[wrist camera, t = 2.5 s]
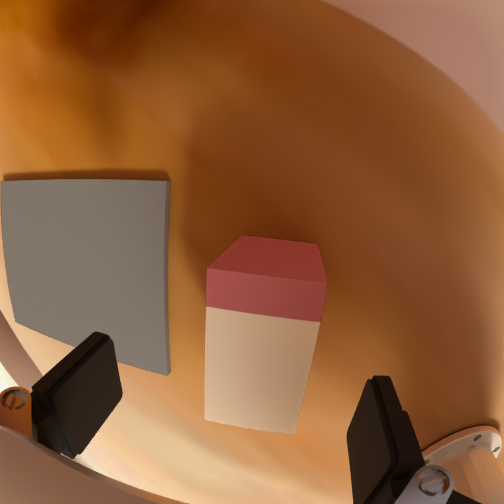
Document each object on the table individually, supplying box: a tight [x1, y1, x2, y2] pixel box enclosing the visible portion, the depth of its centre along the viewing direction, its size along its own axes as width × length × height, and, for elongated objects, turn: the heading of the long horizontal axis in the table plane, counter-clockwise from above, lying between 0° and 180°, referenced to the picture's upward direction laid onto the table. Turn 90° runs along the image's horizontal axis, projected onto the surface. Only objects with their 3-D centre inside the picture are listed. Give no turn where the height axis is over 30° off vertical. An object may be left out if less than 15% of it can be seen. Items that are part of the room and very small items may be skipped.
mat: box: [0, 179, 171, 376], centre depth 21 cm, size 14×18×1 cm
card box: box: [205, 235, 328, 434], centre depth 16 cm, size 8×4×7 cm, turn 175°
